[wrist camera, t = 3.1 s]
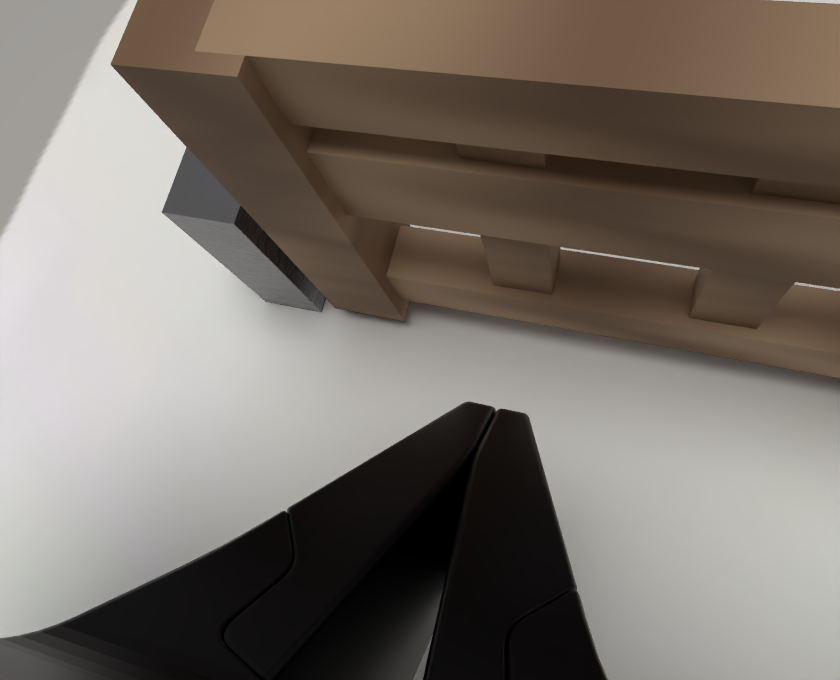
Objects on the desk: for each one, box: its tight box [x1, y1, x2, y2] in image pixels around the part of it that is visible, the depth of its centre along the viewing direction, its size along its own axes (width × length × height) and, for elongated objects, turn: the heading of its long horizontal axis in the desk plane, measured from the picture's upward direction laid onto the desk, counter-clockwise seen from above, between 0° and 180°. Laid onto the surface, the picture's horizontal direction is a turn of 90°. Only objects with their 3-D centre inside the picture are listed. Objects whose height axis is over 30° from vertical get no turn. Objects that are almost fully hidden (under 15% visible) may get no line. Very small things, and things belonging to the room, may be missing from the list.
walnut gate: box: [111, 0, 840, 378], centre depth 11 cm, size 13×2×9 cm, turn 75°
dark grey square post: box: [162, 148, 326, 312], centre depth 12 cm, size 2×18×9 cm, turn 75°
